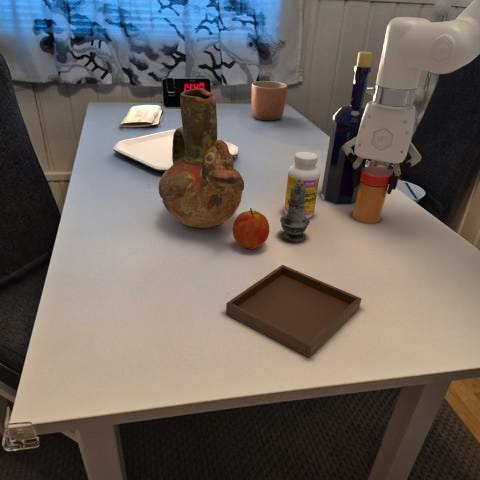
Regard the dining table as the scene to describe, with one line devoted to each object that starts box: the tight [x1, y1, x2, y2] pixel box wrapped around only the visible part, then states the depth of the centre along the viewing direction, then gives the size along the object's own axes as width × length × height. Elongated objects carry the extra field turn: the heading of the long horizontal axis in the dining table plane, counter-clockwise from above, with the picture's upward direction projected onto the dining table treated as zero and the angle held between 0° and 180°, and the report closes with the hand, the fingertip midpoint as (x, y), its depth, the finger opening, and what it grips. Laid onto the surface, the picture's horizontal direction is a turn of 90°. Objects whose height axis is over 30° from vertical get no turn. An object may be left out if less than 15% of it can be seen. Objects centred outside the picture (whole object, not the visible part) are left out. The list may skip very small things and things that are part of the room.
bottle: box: [320, 51, 374, 205], centre depth 98 cm, size 9×9×30 cm
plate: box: [112, 128, 239, 173], centre depth 126 cm, size 29×29×2 cm
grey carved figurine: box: [279, 179, 311, 244], centre depth 86 cm, size 6×6×12 cm
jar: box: [352, 181, 389, 224], centre depth 96 cm, size 6×6×10 cm
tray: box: [225, 264, 362, 358], centre depth 70 cm, size 15×15×2 cm
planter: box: [250, 80, 288, 121], centre depth 159 cm, size 12×12×11 cm
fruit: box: [232, 207, 270, 250], centre depth 84 cm, size 7×7×8 cm
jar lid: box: [359, 165, 393, 186], centre depth 93 cm, size 6×6×2 cm
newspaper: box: [119, 104, 163, 128], centre depth 155 cm, size 23×12×2 cm, turn 1°
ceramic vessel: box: [158, 87, 245, 229], centre depth 85 cm, size 17×26×25 cm, turn 29°
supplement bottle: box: [283, 151, 321, 219], centre depth 95 cm, size 7×7×13 cm
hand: (372, 188), depth 94 cm, fingers closed on jar lid, 6 cm apart
